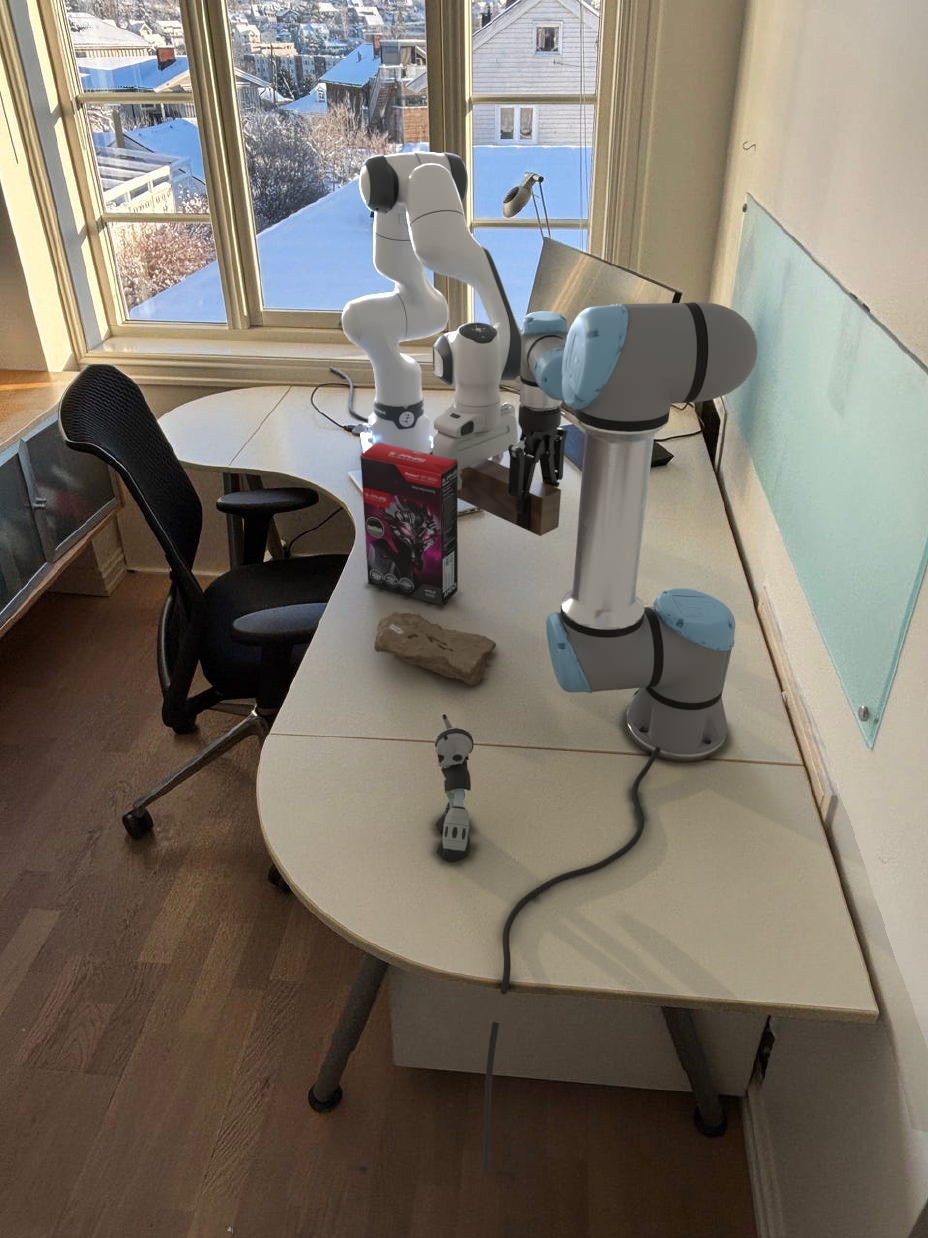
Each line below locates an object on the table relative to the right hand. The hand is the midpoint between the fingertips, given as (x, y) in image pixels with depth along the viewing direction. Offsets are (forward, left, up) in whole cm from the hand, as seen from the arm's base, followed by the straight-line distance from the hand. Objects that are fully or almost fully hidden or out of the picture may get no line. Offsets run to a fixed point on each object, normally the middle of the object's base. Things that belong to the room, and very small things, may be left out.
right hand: (533, 521), depth 174 cm
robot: (-70, -4, -12) cm, 71 cm away
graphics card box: (-11, +21, -12) cm, 27 cm away
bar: (+4, +7, -1) cm, 8 cm away
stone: (-32, +11, -12) cm, 36 cm away
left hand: (+8, +13, +3) cm, 16 cm away
